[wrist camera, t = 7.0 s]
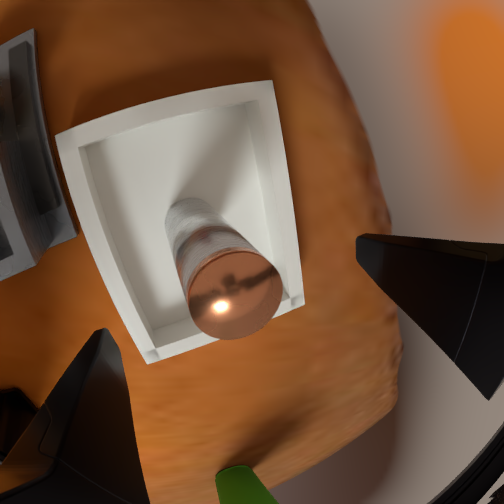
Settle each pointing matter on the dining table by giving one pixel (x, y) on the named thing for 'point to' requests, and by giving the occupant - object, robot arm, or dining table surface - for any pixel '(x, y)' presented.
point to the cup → (241, 487)
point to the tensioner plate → (27, 164)
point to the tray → (174, 189)
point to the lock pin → (220, 272)
